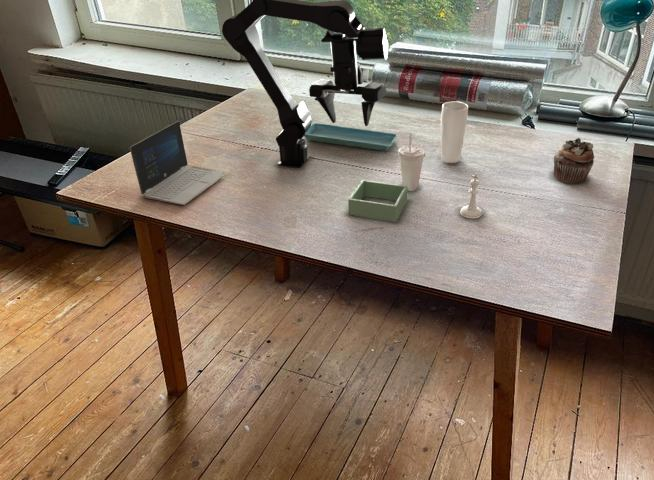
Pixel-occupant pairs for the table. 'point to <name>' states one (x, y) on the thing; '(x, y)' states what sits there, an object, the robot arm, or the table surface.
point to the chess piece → (472, 201)
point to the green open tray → (375, 208)
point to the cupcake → (573, 161)
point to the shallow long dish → (350, 136)
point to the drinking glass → (453, 130)
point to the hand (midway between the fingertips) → (350, 124)
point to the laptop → (169, 168)
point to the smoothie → (411, 164)
